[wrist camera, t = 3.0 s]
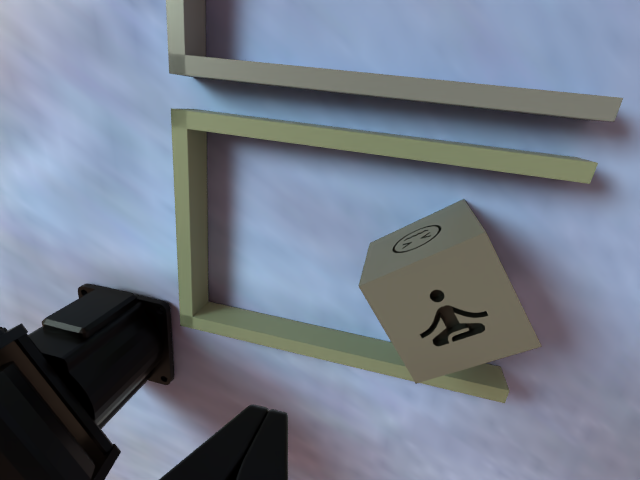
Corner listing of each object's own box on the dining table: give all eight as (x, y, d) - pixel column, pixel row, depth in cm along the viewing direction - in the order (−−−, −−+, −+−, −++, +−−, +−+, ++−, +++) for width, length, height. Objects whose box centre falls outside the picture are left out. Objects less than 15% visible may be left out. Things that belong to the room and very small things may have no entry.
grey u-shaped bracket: (496, 378, 19) (504, 403, 18) (197, 309, 22) (180, 325, 21) (576, 157, 15) (598, 162, 13) (192, 109, 18) (170, 108, 16)
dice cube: (413, 319, 19) (415, 383, 15) (369, 242, 19) (358, 286, 14) (506, 285, 18) (541, 346, 13) (463, 198, 17) (485, 231, 12)
